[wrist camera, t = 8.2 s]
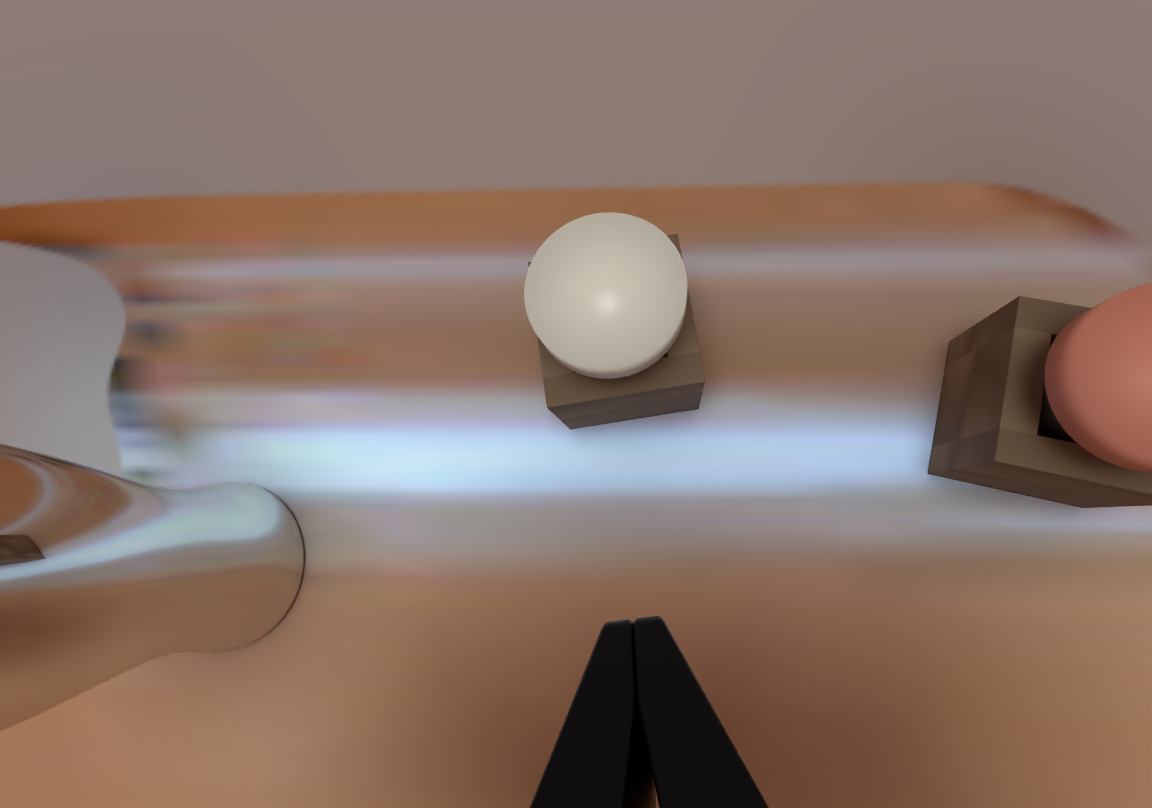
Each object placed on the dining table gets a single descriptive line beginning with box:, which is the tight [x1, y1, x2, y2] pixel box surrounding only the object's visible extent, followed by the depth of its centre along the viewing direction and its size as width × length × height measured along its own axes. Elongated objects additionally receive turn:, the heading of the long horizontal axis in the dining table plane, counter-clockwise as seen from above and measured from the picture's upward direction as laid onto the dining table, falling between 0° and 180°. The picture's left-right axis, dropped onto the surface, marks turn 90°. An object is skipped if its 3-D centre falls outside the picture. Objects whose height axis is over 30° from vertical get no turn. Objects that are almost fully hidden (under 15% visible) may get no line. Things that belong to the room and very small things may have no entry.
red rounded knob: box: [1037, 283, 1152, 472], centre depth 16 cm, size 4×4×5 cm
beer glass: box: [0, 444, 304, 731], centre depth 16 cm, size 7×7×15 cm
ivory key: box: [524, 212, 687, 379], centre depth 19 cm, size 4×4×5 cm
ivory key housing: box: [528, 234, 705, 429], centre depth 21 cm, size 5×5×4 cm
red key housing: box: [928, 296, 1152, 508], centre depth 19 cm, size 5×5×4 cm
